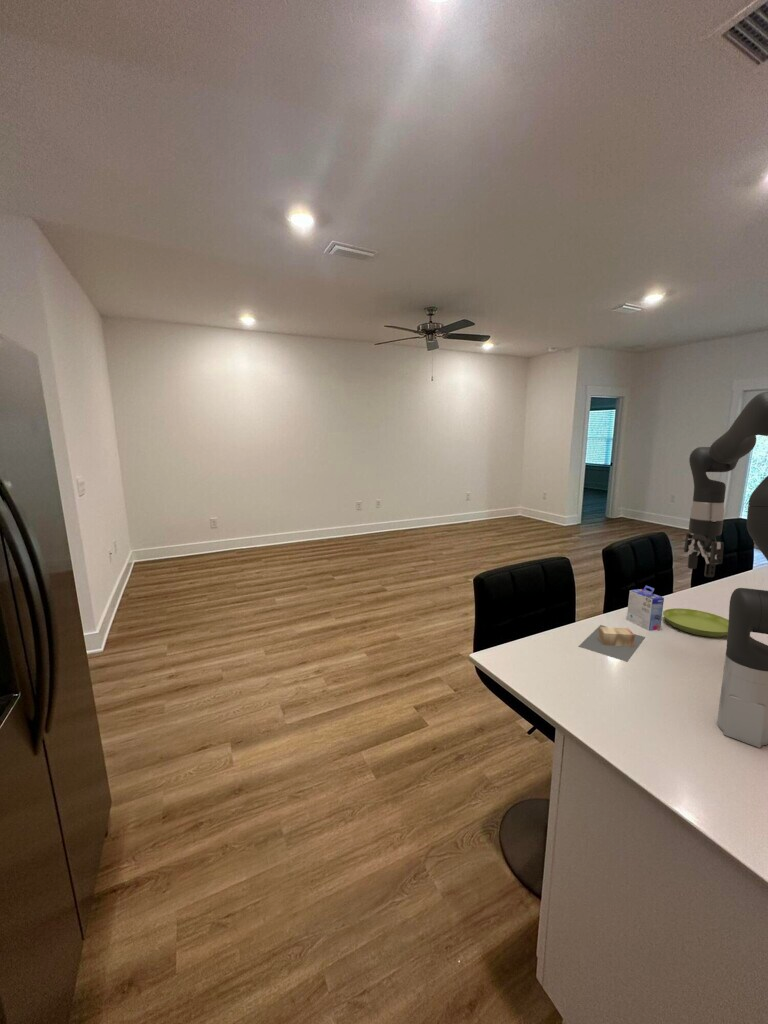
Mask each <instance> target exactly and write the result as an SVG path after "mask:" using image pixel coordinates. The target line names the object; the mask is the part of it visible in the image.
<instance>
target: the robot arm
mask: <svg viewBox="0 0 768 1024" xmlns="http://www.w3.org/2000/svg"><path fill="white" fill-rule="evenodd" d="M757 436H762V437H763V436H764V437H768V391H764V392H763V391H762V392H761V393H759V394H756V395H755V396H753V398H752V399H750V401H748V403H746V405H745V406H744V408H743V409H742V411H740V413H739V414H738V415H737V417H736V419H735V420H734V422H733V423H732V424H731V426H730V428H729V429H728V430H727V431H726V432H724V433H723V434H722V435H720V437H718V438H716V440H715V441H714V442H712V444H711V445H710V446H698V447H696V448H694V449H693V451H691V453H690V455H689V460H688V461H689V467H690V471H691V475H692V481H693V495H692V496H693V497H692V502H691V503H692V504H691V508H690V512H689V513H690V515H689V522H688V523H689V524H688V532H689V533H688V532H687V533H686V534H685V542H684V547H683V552H684V553H686V555H687V556H688V557H687V558H688V559H687V566H686V567H687V568H688V569H689V570H690V569H691V570H696V569H697V568H698V559H699V557H698V556H699V555H700V554H701V556H702V558H704V560H705V565H704V577H706V578H714V577H715V574H716V566H717V565H723V561H724V560H723V559H724V548H725V543H724V542H723V541H717V538H716V537H718V536H721V535H722V533H723V527H724V526H723V524H724V516H725V497H726V490H727V487H726V483H725V482H723V481H721V480H720V481H719V480H715V479H710V478H709V477H708V475H707V473H727V472H731V471H734V469H735V468H736V467H737V464H738V462H739V460H740V459H742V458H743V457H745V456H747V455H748V454H749V453H750V452H751V451H752V450H754V448H755V446H756V444H757ZM746 516H747V517H746V529H747V532H748V534H749V536H750V537H751V540H752V541H753V543H754V544H755V545H756V547H757V548H758V549H759V551H760V552H761V553H762V555H763V556H764V558H765V559H766V560H767V562H768V475H767V476H766V477H765V478H764V479H763V480H762V481H761V482H760V483H758V486H756V488H755V489H754V490H753V491H752V493H751V495H750V496H749V498H748V506H747V515H746ZM728 620H729V624H728V634H727V635H726V637H727V639H726V648H725V650H726V651H725V658H724V663H723V673H722V680H721V686H720V687H721V689H720V696H719V701H718V702H719V704H718V712H717V719H716V720H717V721H716V724H717V726H718V728H719V729H720V730H721V731H722V732H723V735H724V736H726V737H728V738H732V739H734V740H736V741H740V742H743V743H744V744H748V745H751V746H753V747H756V748H759V749H761V748H762V746H767V745H768V644H765V643H763V642H762V641H759V640H757V639H755V638H754V637H751V633H756V634H763V635H768V590H765V589H756V588H749V587H748V588H746V587H737V588H735V589H734V590H733V592H731V596H730V600H729V606H728Z"/></svg>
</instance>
